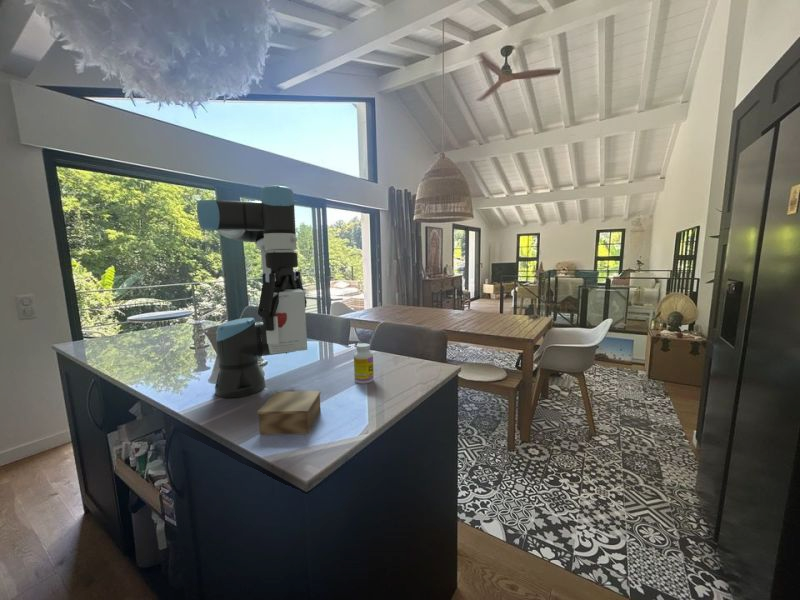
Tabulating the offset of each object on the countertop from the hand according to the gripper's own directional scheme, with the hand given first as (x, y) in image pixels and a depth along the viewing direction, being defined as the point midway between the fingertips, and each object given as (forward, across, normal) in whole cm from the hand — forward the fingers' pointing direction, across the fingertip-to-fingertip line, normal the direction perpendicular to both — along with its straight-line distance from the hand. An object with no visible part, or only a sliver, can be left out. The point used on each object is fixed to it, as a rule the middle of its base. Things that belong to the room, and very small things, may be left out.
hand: (286, 337), depth 86 cm
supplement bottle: (+23, +32, -10) cm, 41 cm away
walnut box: (+23, 0, 0) cm, 23 cm away
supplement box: (+3, 0, 0) cm, 3 cm away
